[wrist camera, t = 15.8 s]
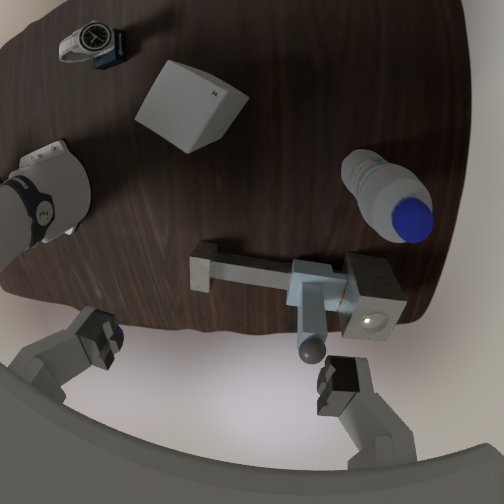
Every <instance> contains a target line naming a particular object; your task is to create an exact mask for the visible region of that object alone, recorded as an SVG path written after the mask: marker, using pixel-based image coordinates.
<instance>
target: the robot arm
mask: <svg viewBox="0 0 504 504" xmlns="http://www.w3.org/2000/svg"><path fill="white" fill-rule="evenodd" d="M90 199H91V192H90V184H89V180H88V177H87V174H86V172H85V170H84V168H83V166H82V164H81V163H80V162H79V160H78V159H77V158H76V157H75V156H73V155H72V154H71V153H70V152H69V150H68V148H67V146H66V144H65V142H64V141H63V140H58V141H56V142H53V143H51V144H49V145H47V146H44V147H42V148H40V149H38V150H36V151H34V152H32V153H30V154H28V155H26V156H24V157H22V158H21V159H20V164H19V169H18V170H15V171H13V172H11V173H10V175H9V179H7V180H6V181H4V182H3V183H2V184H1V185H0V273H1V271H2V270H3V269H4V268H5V267H6V266H7V265H8V264H9V263H10V262H11V261H12V260H13V259H14V258H15V257H17V256H18V255H19V254H20V253H21V252H23V251H27V250H29V249H31V248H33V247H35V246H36V245H37V244H38V243H39V242H40V241H41V242H44V243H48V242H50V241H51V240H53V239H54V238H56V237H58V236H59V235H61V234H63V233H66V234H69V235H70V234H72V233H74V232H75V230H76V227H77V224H78V223H79V222H80V221H81V220H82V219H83V218H84V217H85V215H86V214H87V212H88V209H89V206H90ZM119 324H120V320H119V317H118V316H116V315H113V314H110V313H107V312H104V311H101V310H98V309H95V308H92V307H89V306H87V307H84V309H83V310H82V311H81V312H80V313H79V315H78V316H77V317H76V318H75V320H74V321H73V322H72V323H71V325H70V326H69V327H68V328H67V330H61V331H59V332H57V333H54V334H52V335H50V336H48V337H45V338H43V339H41V340H39V341H37V342H34V343H32V344H30V345H28V346H25V347H23V348H22V349H21V350H20V352H19V353H18V354H17V356H16V357H15V358H14V360H13V361H12V362H11V364H10V365H9V366H8V368H7V367H6V366H4V365H3V364H2V363H0V504H504V456H503V455H502V454H501V453H500V452H499V451H498V450H497V449H496V448H494V447H493V446H492V445H490V444H488V443H483V444H479V445H477V446H474V447H471V448H468V449H465V450H462V451H458V452H455V453H452V454H448V455H444V456H440V457H436V458H431V459H427V460H423V461H417V456H416V449H415V443H414V437H413V432H412V431H411V430H410V429H409V428H408V427H407V426H406V424H405V423H404V422H403V421H402V420H401V419H400V418H399V416H398V415H397V414H396V413H395V412H394V411H393V410H392V409H391V408H390V406H389V405H388V404H387V403H386V402H385V401H384V400H383V399H382V397H381V396H380V395H379V394H378V393H374V390H373V385H372V379H371V374H370V369H369V364H368V360H367V358H359V357H358V358H357V357H345V356H330V355H329V356H327V358H326V360H325V367H323V368H321V370H320V373H319V376H318V381H317V392H318V393H319V394H320V397H319V398H318V400H317V415H321V416H335V417H339V419H340V421H341V423H342V425H343V426H344V428H345V429H346V431H347V432H348V434H349V436H350V437H351V438H352V440H353V441H354V443H355V445H356V447H357V448H358V450H359V451H360V452H358V453H357V454H356V455H355V456H353V457H352V458H351V459H350V460H349V461H348V470H336V471H335V470H334V471H309V470H288V469H274V468H264V467H255V466H248V465H242V464H235V463H230V462H224V461H219V460H214V459H209V458H204V457H200V456H196V455H192V454H188V453H184V452H180V451H177V450H173V449H170V448H166V447H163V446H160V445H157V444H154V443H151V442H148V441H145V440H142V439H139V438H136V437H134V436H131V435H129V434H126V433H123V432H121V431H118V430H116V429H114V428H111V427H109V426H106V425H104V424H102V423H100V422H98V421H96V420H93V419H91V418H89V417H87V416H85V415H83V414H81V413H79V412H77V411H75V410H73V409H71V408H70V407H68V406H66V405H64V404H63V402H64V400H65V398H66V394H65V393H64V391H63V390H62V389H61V387H60V386H62V385H63V384H65V383H66V382H68V381H69V380H71V379H72V378H74V377H75V376H77V375H78V374H80V373H81V372H83V371H84V370H86V369H87V368H88V367H90V366H91V365H94V366H96V367H99V368H102V369H105V370H107V371H108V370H109V368H110V366H111V364H112V363H113V361H114V359H115V358H114V354H115V353H117V352H119V351H120V349H121V347H122V345H123V341H124V334H123V330H122V329H121V328H120V327H119V326H118V325H119Z"/></svg>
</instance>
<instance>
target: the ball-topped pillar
mask: <svg viewBox="0 0 504 504" xmlns="http://www.w3.org/2000/svg"><path fill="white" fill-rule="evenodd" d="M347 281H348V280H347V276H346V274H340V273H333V271H332V266H331V265H329V264H323V263H316V262H310V261H303V260H297V259H293V264H292V277H291V281H290V286H289V290H287V302H286V305H292V306H298V341H297V344H298V345H297V349H299V356H300V358H301V359H302V360H303V361H304V362H305V363H307V364H316V363H319V362H320V361H322V359H323V358H324V357H325V354H326V346H325V344H324V343H325V340H326V338H327V335H328V334H327V324H326V314H325V310H329V311H337V309H338V306H339V303H340V301H341V298H342V295H343V292H344V289H345V286H346V284H347Z"/></svg>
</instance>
